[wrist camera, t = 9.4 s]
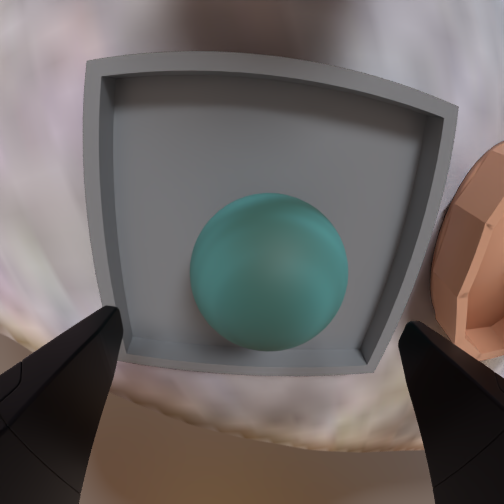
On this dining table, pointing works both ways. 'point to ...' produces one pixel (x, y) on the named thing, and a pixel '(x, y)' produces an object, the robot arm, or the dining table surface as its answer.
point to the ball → (268, 272)
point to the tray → (255, 182)
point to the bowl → (473, 261)
